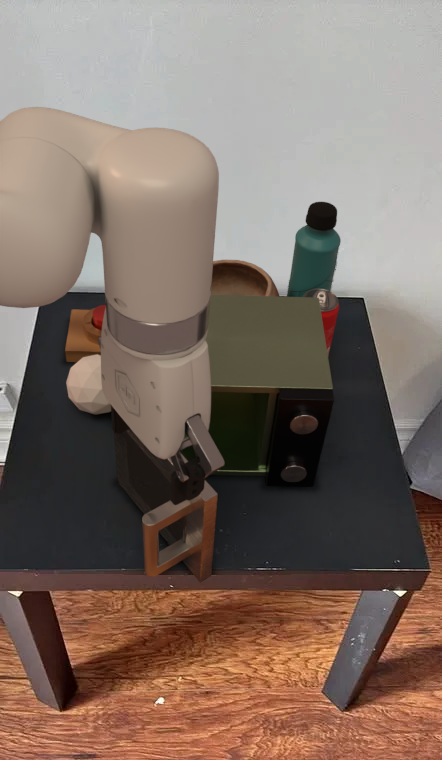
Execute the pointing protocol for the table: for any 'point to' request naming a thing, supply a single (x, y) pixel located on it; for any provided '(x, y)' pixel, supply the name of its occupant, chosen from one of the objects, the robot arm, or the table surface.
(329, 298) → the beverage can
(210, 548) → the microwave door
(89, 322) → the button block
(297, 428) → the microwave
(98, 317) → the release button
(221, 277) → the bowl
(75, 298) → the table surface
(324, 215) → the beverage bottle
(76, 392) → the geometric ball
